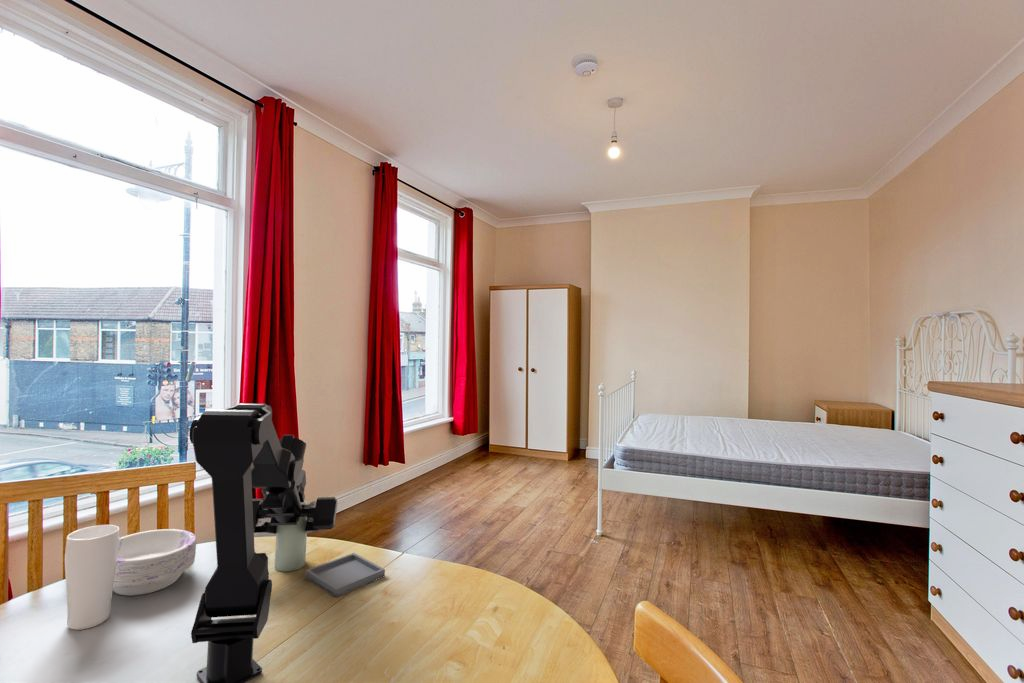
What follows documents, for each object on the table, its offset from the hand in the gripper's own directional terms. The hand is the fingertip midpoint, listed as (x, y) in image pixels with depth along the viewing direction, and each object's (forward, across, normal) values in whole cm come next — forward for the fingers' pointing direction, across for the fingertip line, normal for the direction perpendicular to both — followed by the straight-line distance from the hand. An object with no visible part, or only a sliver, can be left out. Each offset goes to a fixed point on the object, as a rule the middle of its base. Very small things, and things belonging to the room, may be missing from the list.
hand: (293, 531), depth 103 cm
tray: (-1, -12, +10) cm, 16 cm away
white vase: (-8, +27, +18) cm, 34 cm away
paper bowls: (0, +25, +9) cm, 26 cm away
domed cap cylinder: (+4, 0, +6) cm, 7 cm away
